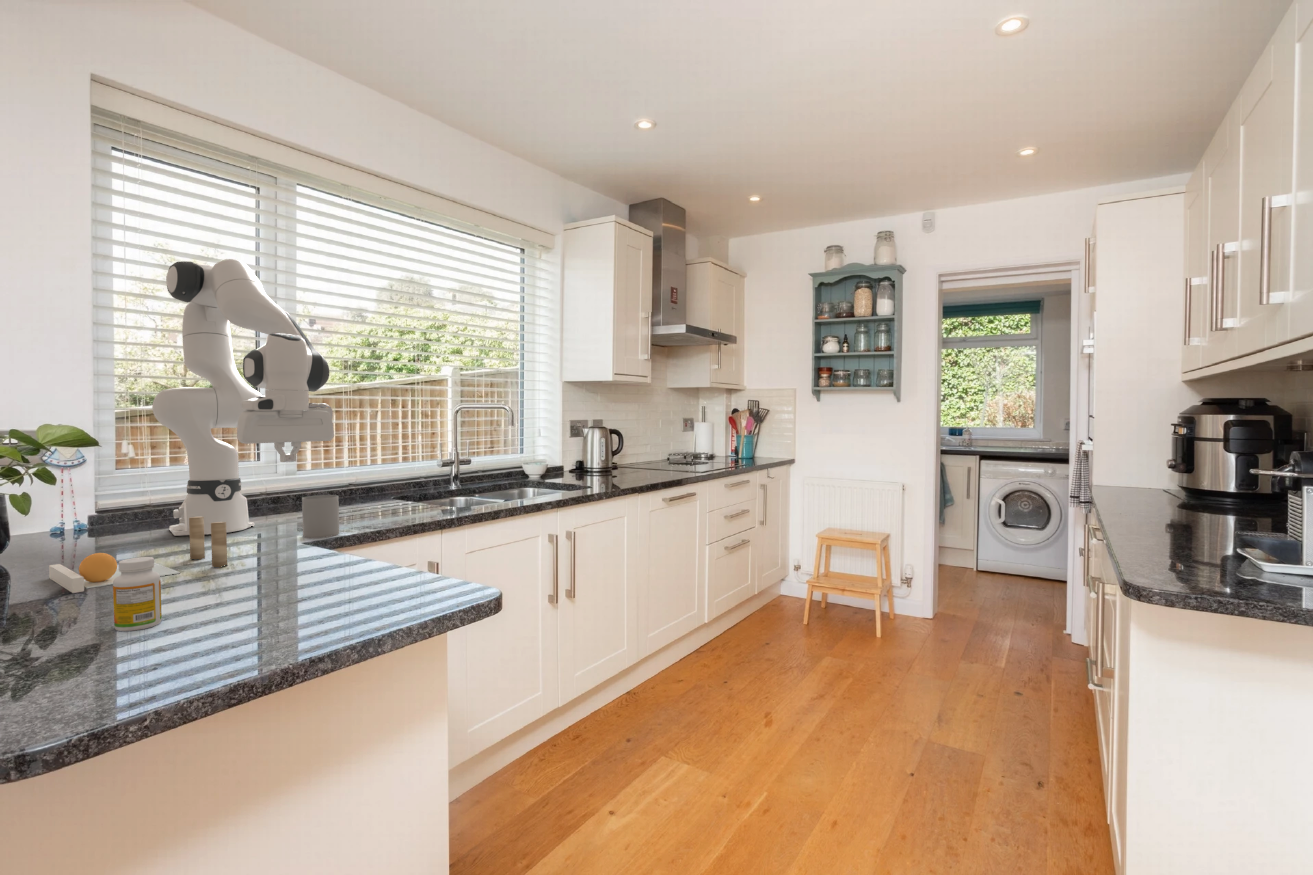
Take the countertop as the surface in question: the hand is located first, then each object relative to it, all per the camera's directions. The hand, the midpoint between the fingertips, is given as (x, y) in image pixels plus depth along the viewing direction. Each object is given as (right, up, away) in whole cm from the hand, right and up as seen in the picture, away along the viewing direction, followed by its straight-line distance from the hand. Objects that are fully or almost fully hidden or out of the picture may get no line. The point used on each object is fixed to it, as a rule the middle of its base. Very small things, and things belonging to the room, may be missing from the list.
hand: (288, 461), depth 151 cm
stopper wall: (-22, -21, -33) cm, 45 cm away
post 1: (-13, -21, -12) cm, 27 cm away
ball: (-17, -19, -32) cm, 41 cm away
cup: (-1, -20, +17) cm, 26 cm away
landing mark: (-16, -21, -27) cm, 38 cm away
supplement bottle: (+11, -22, -58) cm, 63 cm away
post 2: (-3, -21, -19) cm, 28 cm away
